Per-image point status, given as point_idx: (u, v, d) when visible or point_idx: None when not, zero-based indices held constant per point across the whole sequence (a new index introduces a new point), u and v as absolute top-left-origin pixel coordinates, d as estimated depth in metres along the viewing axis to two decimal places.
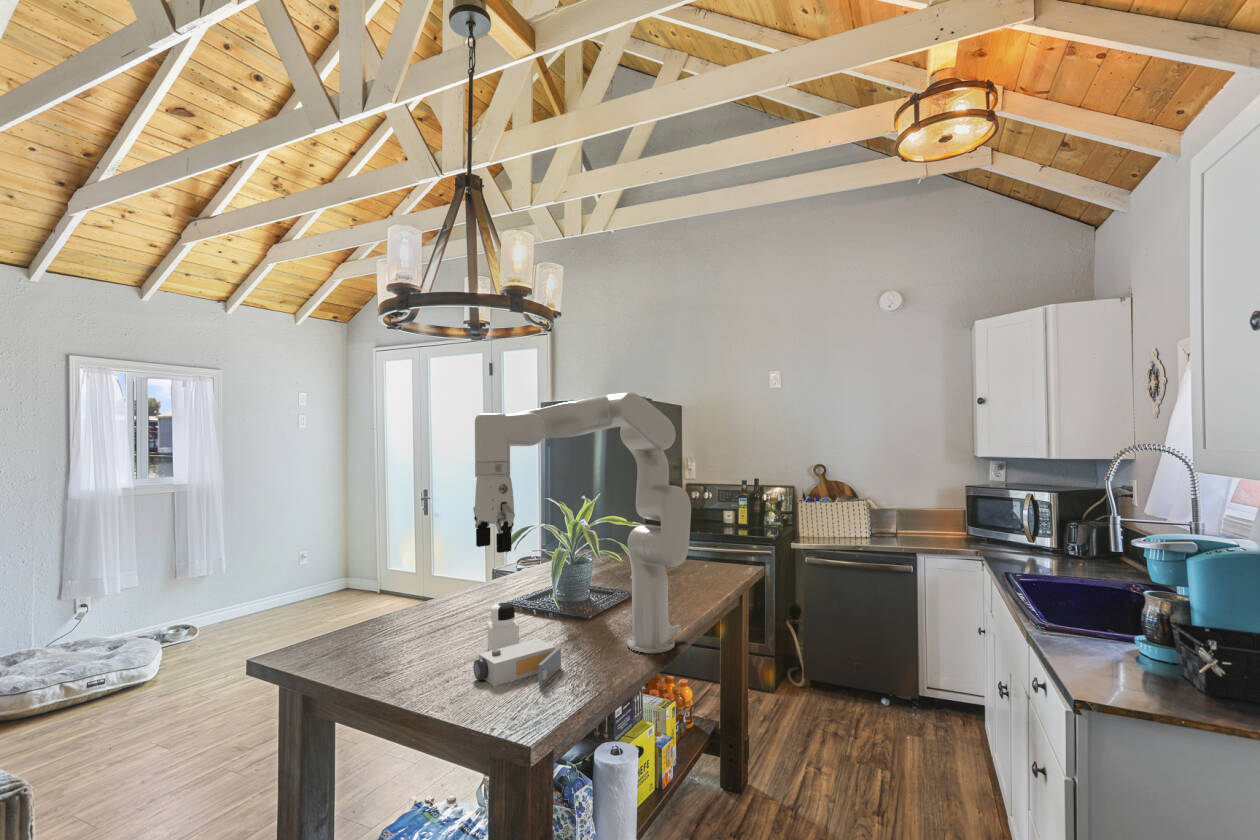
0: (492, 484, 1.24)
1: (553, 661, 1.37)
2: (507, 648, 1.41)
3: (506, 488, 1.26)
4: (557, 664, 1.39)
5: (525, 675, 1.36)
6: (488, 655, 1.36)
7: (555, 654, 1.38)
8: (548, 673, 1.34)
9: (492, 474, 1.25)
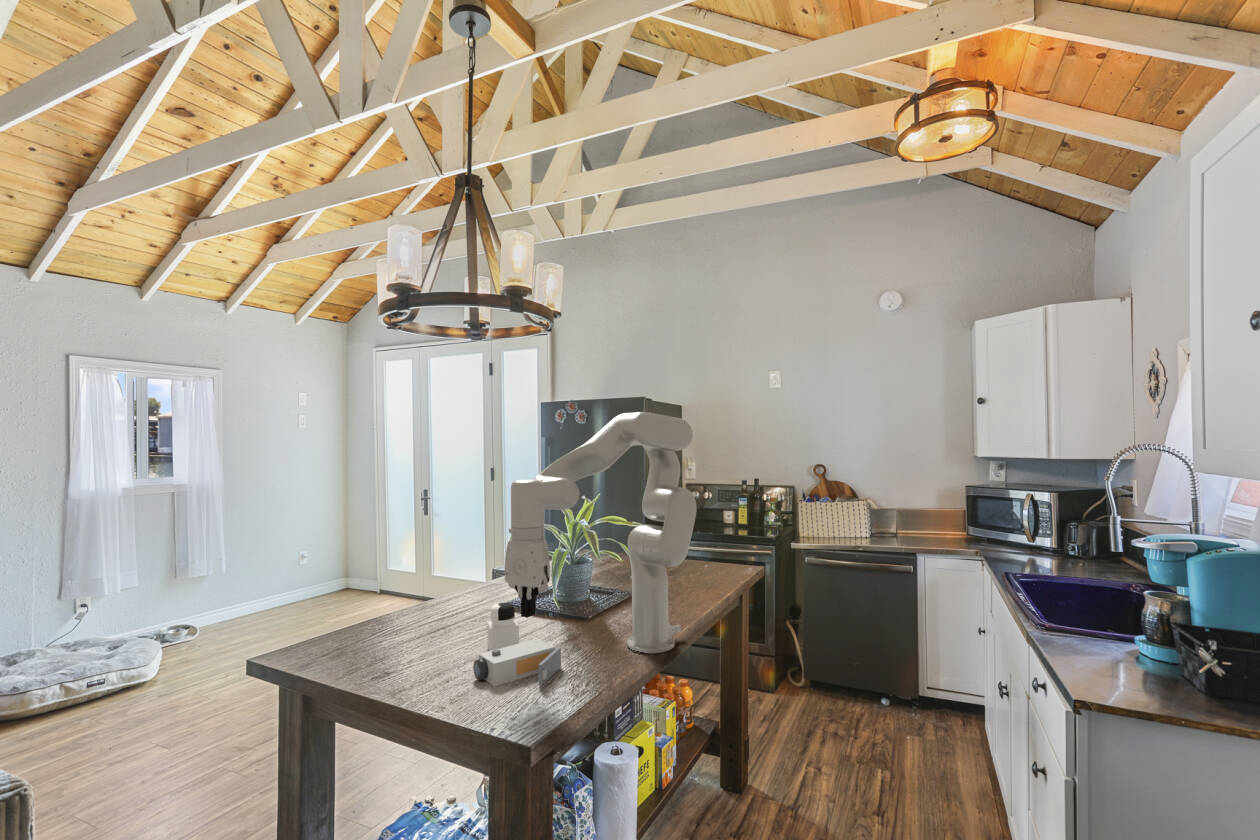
0: None
1: (553, 661, 1.37)
2: (507, 648, 1.41)
3: None
4: (557, 664, 1.39)
5: (525, 675, 1.36)
6: (488, 655, 1.36)
7: (555, 654, 1.38)
8: (548, 673, 1.34)
9: None
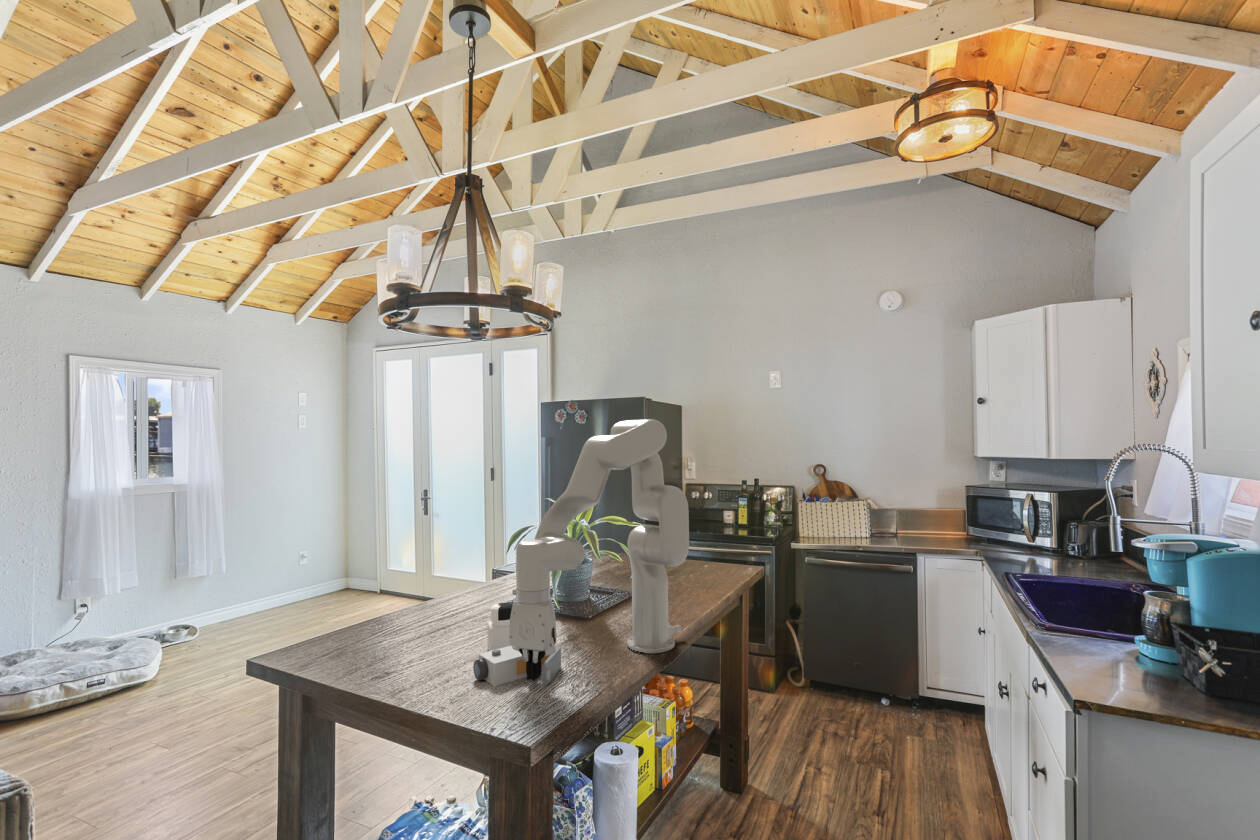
0: None
1: (554, 661, 1.37)
2: (507, 648, 1.41)
3: None
4: (558, 664, 1.39)
5: (525, 675, 1.36)
6: (488, 655, 1.36)
7: (556, 654, 1.38)
8: (550, 673, 1.34)
9: None
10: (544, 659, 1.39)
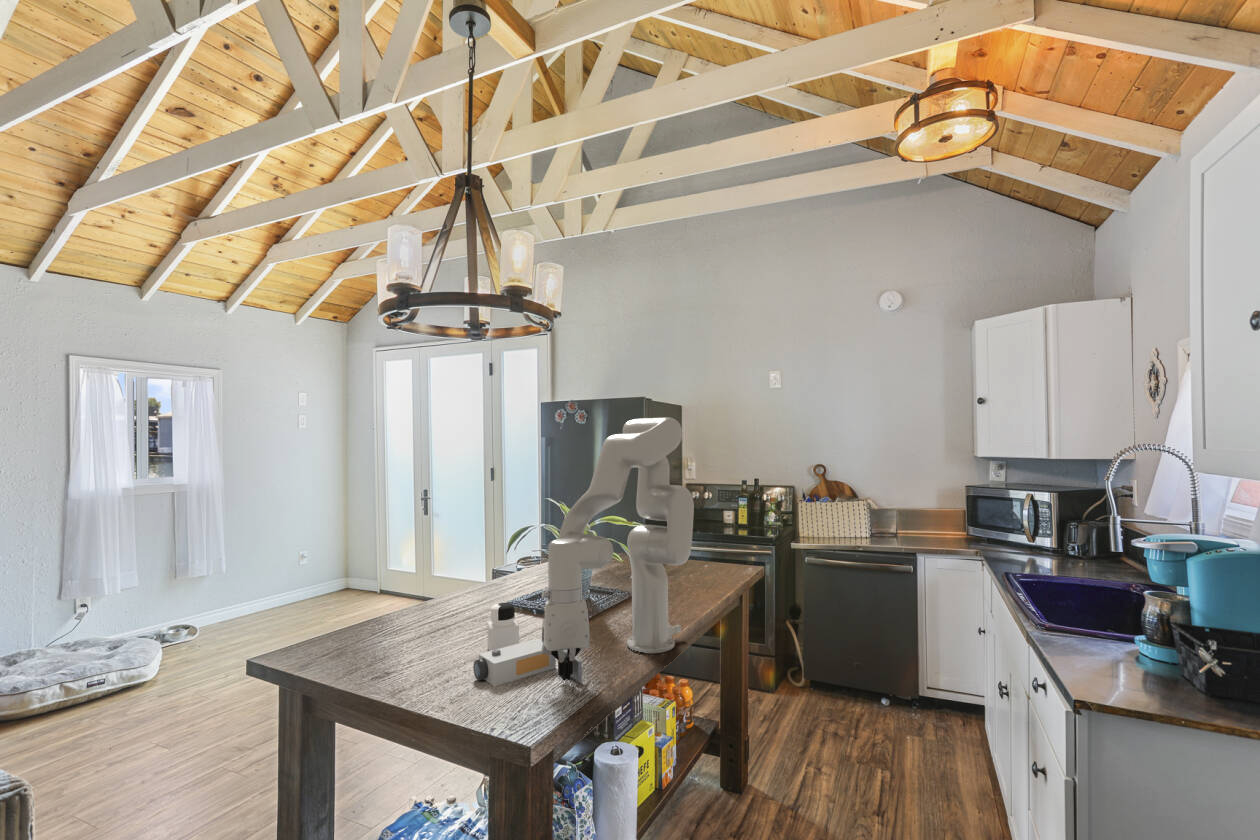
0: None
1: None
2: (507, 648, 1.41)
3: None
4: None
5: (525, 675, 1.36)
6: (488, 655, 1.36)
7: None
8: None
9: None
10: (544, 659, 1.39)
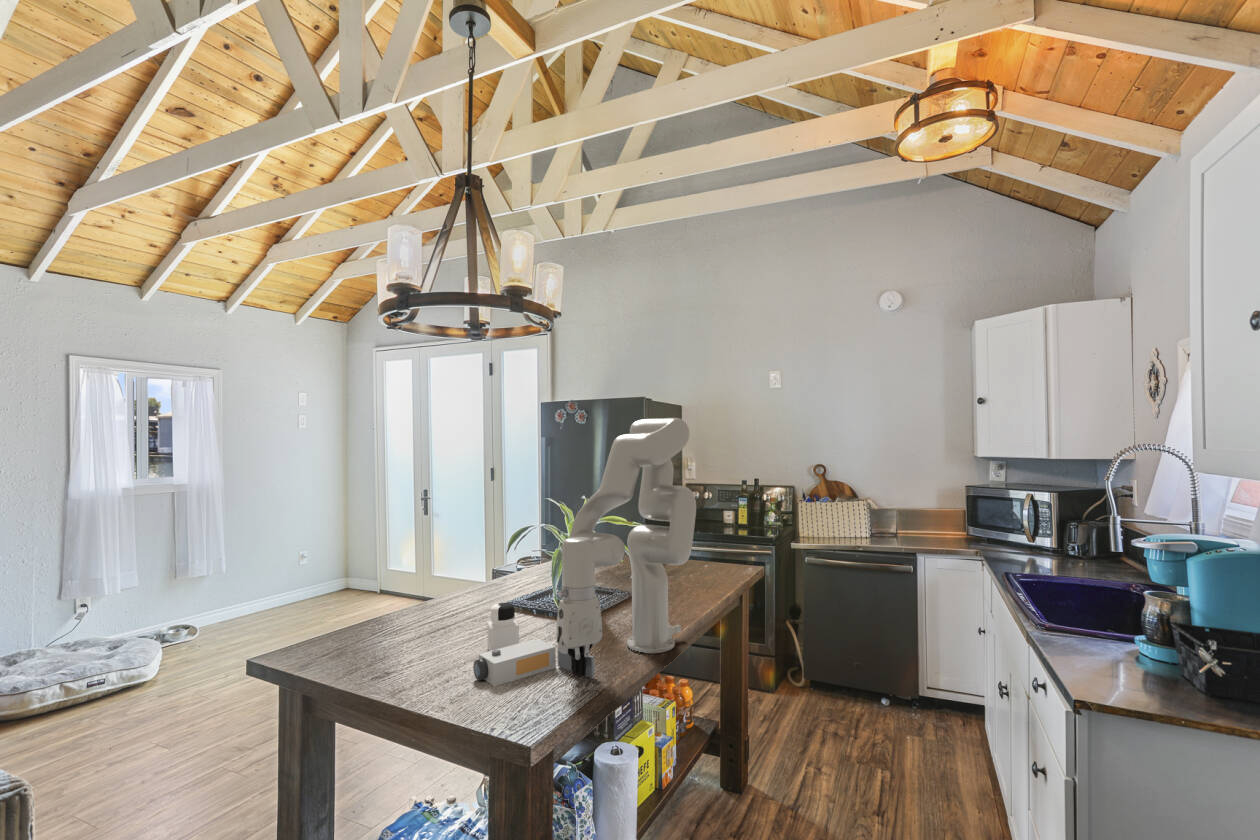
0: None
1: None
2: (507, 648, 1.41)
3: None
4: None
5: (525, 675, 1.36)
6: (488, 655, 1.36)
7: None
8: None
9: (562, 597, 1.33)
10: (544, 659, 1.39)
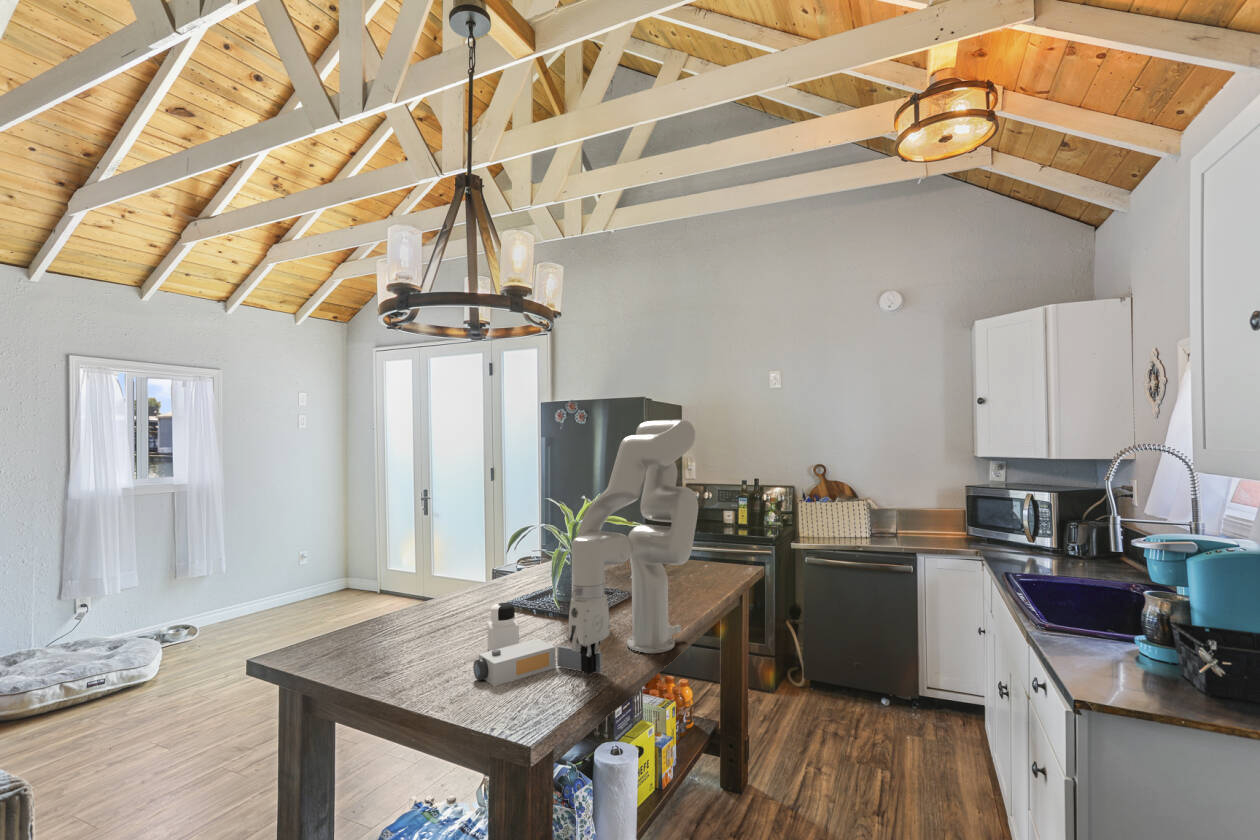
0: None
1: None
2: (507, 648, 1.41)
3: None
4: None
5: (525, 675, 1.36)
6: (488, 655, 1.36)
7: None
8: None
9: (573, 596, 1.34)
10: (544, 659, 1.39)
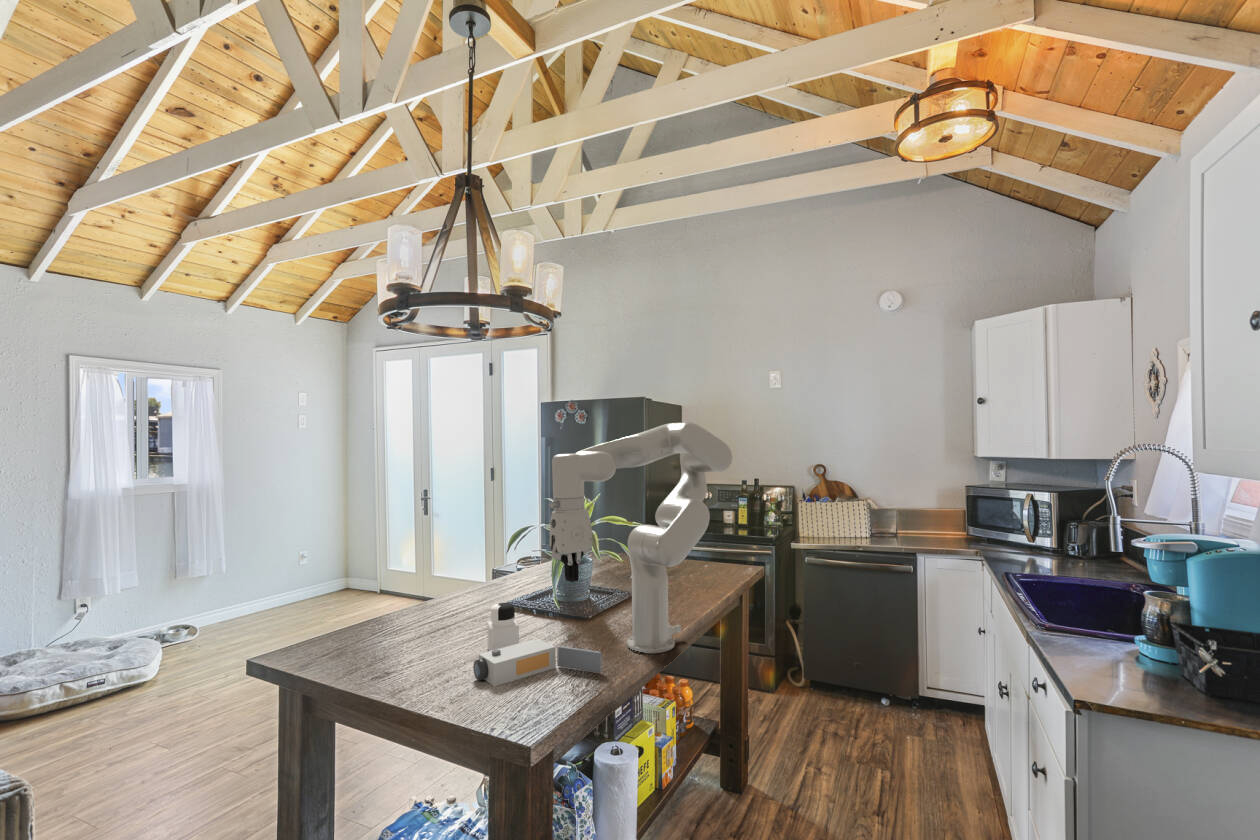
0: None
1: None
2: (507, 648, 1.41)
3: None
4: None
5: (525, 675, 1.36)
6: (488, 655, 1.36)
7: None
8: None
9: None
10: (544, 659, 1.39)
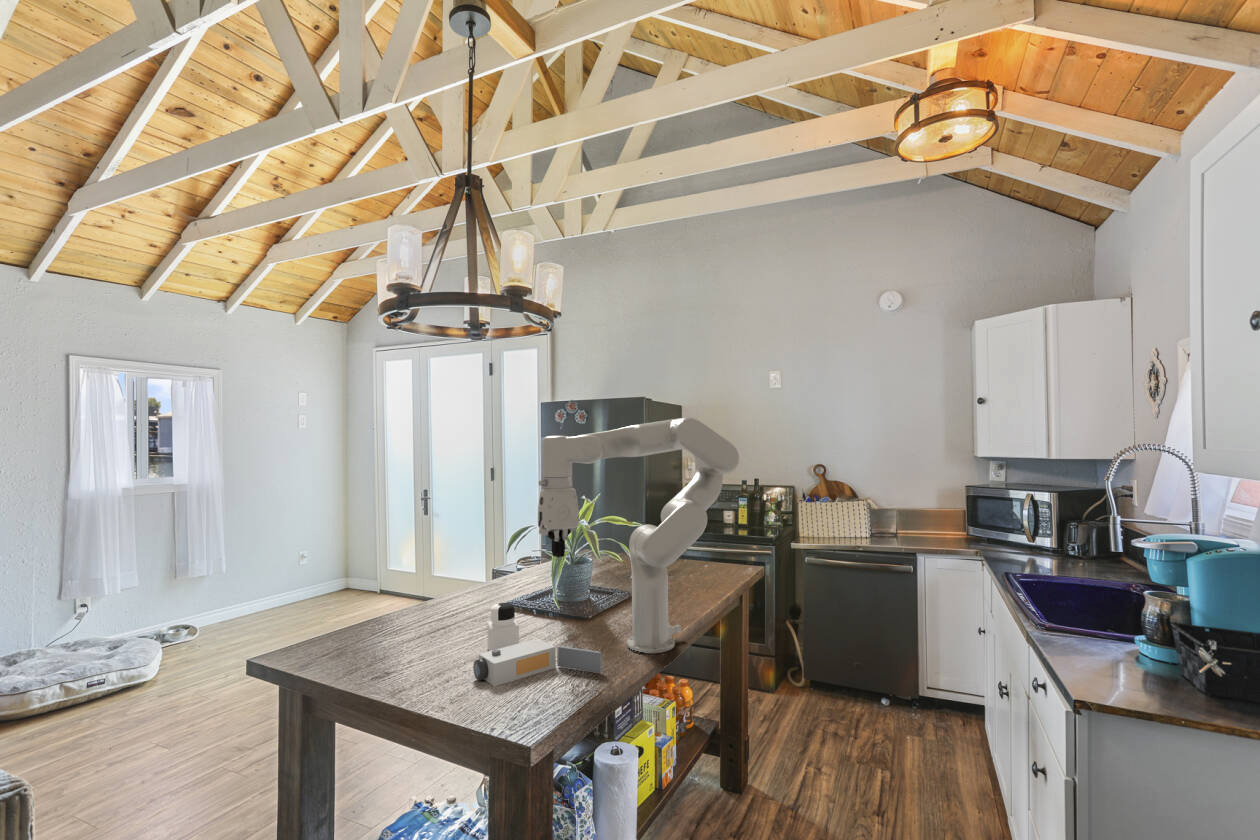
0: None
1: None
2: (507, 648, 1.41)
3: None
4: None
5: (525, 675, 1.36)
6: (488, 655, 1.36)
7: None
8: None
9: (542, 487, 1.50)
10: (544, 659, 1.39)
